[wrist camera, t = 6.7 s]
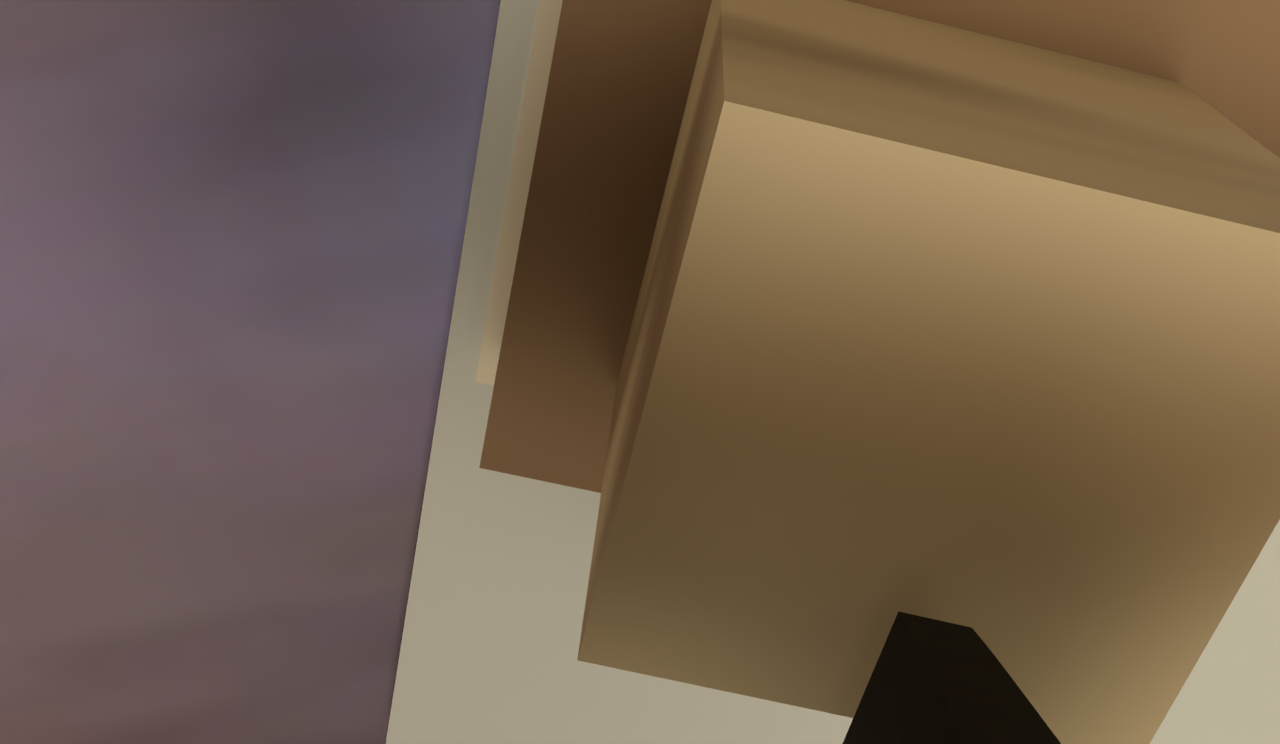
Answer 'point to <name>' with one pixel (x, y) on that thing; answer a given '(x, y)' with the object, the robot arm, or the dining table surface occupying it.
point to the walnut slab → (643, 151)
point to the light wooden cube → (941, 371)
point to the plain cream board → (566, 525)
